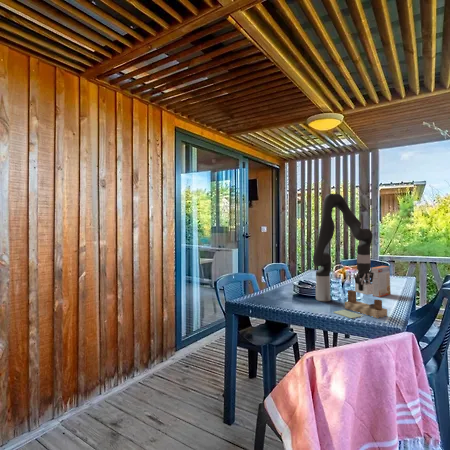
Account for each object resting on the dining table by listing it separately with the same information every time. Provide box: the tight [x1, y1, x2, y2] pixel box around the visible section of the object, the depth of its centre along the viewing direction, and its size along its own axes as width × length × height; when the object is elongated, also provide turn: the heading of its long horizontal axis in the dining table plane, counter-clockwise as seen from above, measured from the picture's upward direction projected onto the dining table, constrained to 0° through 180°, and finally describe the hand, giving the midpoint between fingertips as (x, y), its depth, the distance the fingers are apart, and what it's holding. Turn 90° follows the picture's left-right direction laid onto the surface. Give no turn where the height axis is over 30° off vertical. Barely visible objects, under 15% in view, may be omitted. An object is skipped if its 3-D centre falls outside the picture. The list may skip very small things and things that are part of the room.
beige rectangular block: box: [354, 280, 373, 296], centre depth 188 cm, size 9×5×7 cm, turn 24°
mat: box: [333, 309, 364, 319], centre depth 184 cm, size 14×9×1 cm, turn 24°
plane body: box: [344, 289, 388, 319], centre depth 188 cm, size 24×8×11 cm, turn 24°
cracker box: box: [371, 265, 392, 298], centre depth 229 cm, size 14×6×21 cm, turn 121°
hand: (364, 290), depth 188 cm, fingers closed on beige rectangular block, 5 cm apart
